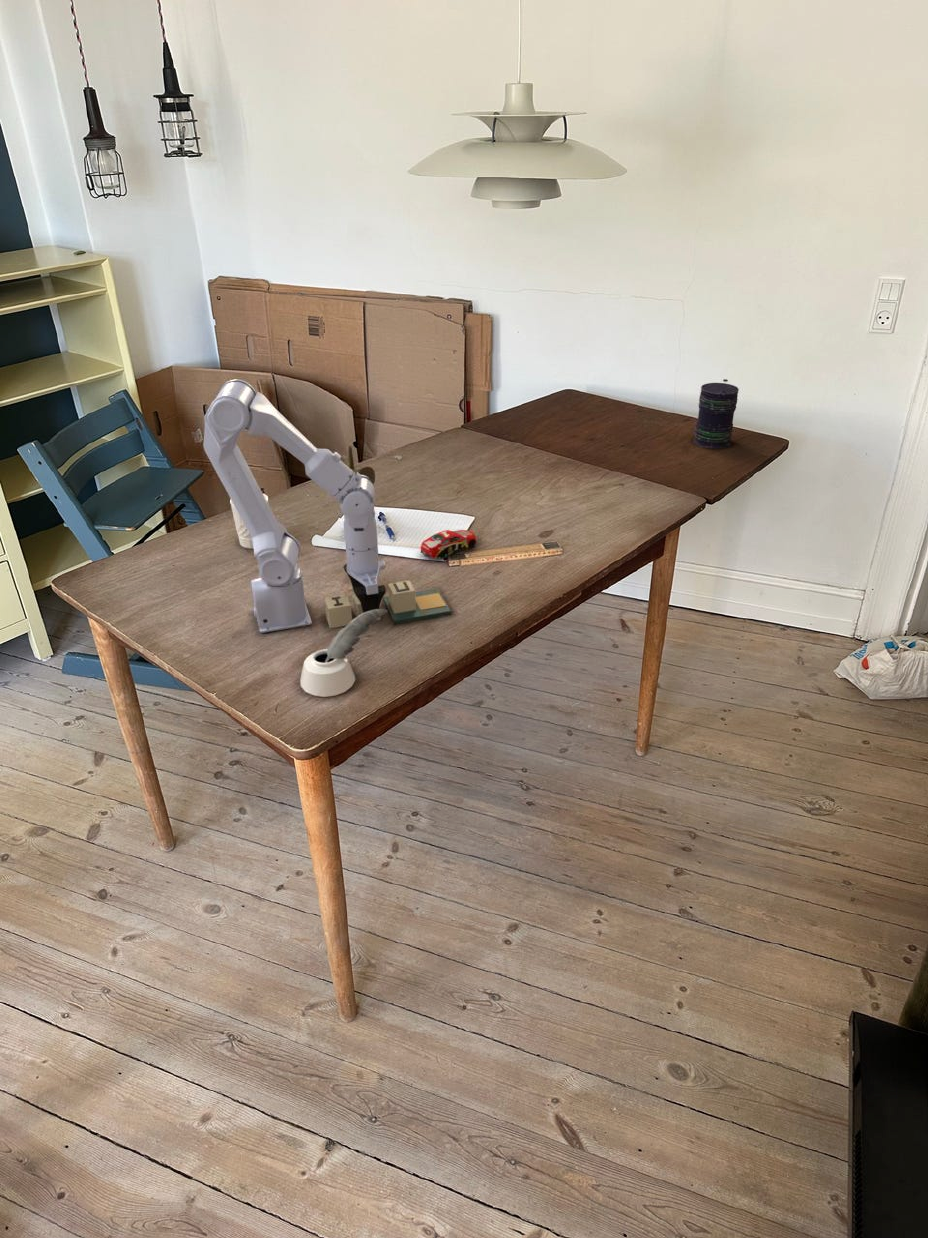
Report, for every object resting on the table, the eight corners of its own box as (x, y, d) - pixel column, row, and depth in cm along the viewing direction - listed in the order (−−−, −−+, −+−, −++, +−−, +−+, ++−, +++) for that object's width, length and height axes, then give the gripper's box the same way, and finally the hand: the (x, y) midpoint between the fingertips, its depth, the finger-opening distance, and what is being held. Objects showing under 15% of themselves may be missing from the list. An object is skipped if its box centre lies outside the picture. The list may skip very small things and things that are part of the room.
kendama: (352, 520, 201) (345, 436, 190) (381, 533, 195) (375, 447, 185) (332, 529, 197) (324, 443, 187) (360, 542, 192) (354, 455, 181)
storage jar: (688, 436, 246) (697, 371, 236) (722, 434, 246) (732, 370, 237) (700, 449, 237) (710, 383, 228) (736, 447, 238) (746, 381, 228)
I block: (330, 628, 162) (327, 608, 160) (325, 617, 165) (323, 597, 163) (352, 624, 163) (350, 604, 161) (347, 613, 167) (346, 593, 164)
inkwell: (289, 681, 148) (282, 631, 143) (371, 639, 159) (368, 591, 154) (322, 705, 142) (316, 653, 137) (405, 659, 153) (403, 610, 148)
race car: (466, 536, 194) (466, 519, 192) (481, 545, 190) (481, 528, 188) (416, 553, 187) (416, 536, 185) (431, 562, 183) (430, 545, 181)
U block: (394, 613, 165) (393, 593, 162) (389, 602, 168) (387, 582, 166) (416, 610, 166) (415, 590, 164) (410, 599, 169) (409, 579, 167)
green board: (394, 624, 163) (394, 620, 163) (383, 600, 170) (383, 596, 170) (451, 614, 166) (451, 610, 165) (437, 591, 173) (437, 587, 173)
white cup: (229, 546, 190) (222, 504, 185) (249, 531, 196) (243, 490, 191) (261, 552, 188) (255, 509, 183) (280, 536, 194) (275, 494, 189)
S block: (358, 623, 163) (356, 603, 161) (353, 612, 167) (352, 592, 165) (380, 619, 165) (379, 599, 162) (375, 608, 168) (374, 588, 166)
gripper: (393, 558, 153) (397, 625, 160) (374, 524, 165) (378, 587, 172) (353, 565, 151) (358, 632, 158) (336, 529, 163) (342, 593, 170)
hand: (366, 609), depth 165 cm, fingers open, 7 cm apart
